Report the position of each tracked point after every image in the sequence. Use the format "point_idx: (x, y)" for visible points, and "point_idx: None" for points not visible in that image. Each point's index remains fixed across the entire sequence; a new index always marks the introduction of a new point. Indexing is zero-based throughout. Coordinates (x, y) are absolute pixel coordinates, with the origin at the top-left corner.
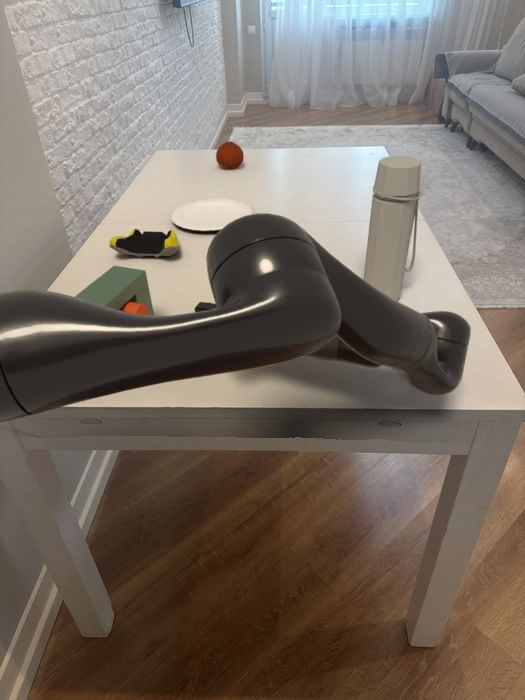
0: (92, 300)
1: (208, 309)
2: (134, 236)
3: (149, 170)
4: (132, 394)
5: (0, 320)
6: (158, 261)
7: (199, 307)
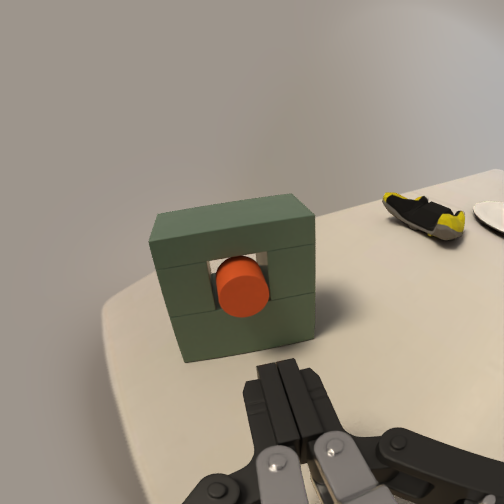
0: (171, 224)
1: (268, 409)
2: (418, 203)
3: (480, 173)
4: (142, 407)
5: None
6: (427, 241)
7: (260, 377)
